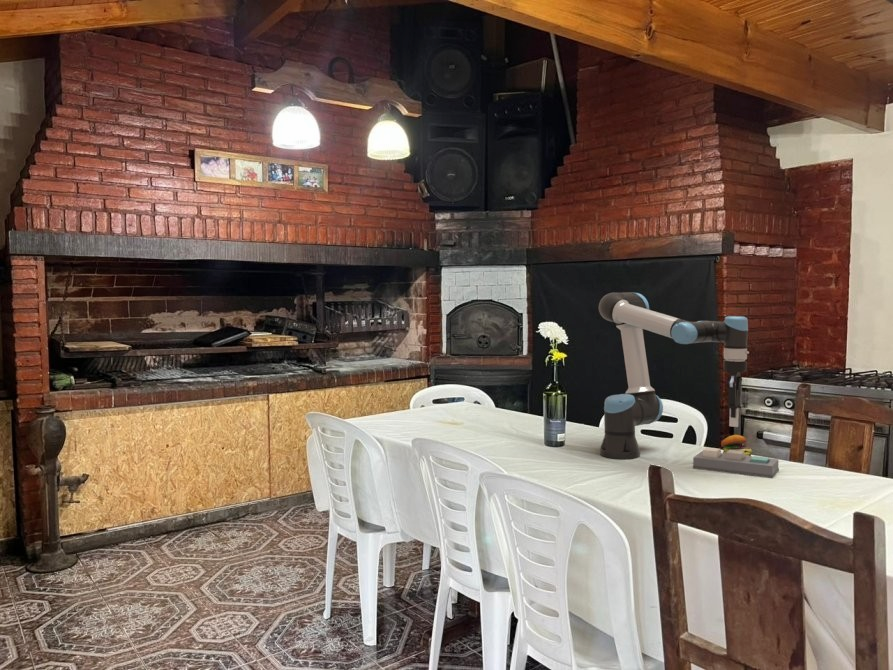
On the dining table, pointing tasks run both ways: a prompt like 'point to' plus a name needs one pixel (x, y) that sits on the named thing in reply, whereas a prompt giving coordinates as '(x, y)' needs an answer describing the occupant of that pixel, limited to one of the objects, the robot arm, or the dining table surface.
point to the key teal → (760, 459)
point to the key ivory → (711, 452)
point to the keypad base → (736, 465)
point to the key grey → (735, 455)
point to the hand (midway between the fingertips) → (733, 426)
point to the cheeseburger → (736, 444)
